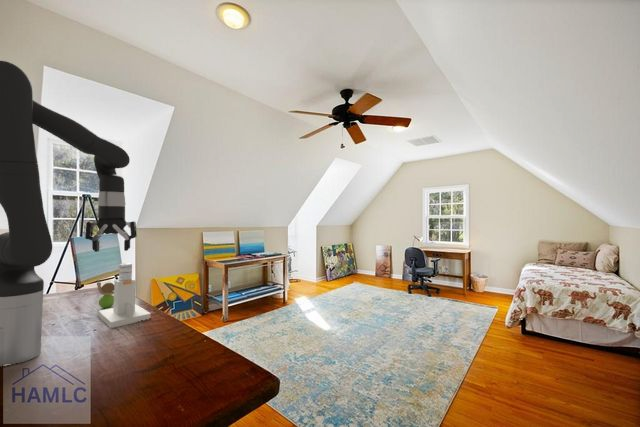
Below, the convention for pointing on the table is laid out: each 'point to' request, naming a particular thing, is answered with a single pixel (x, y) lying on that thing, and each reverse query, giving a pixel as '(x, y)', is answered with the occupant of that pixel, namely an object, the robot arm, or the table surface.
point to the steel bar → (125, 272)
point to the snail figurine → (106, 294)
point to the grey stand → (123, 306)
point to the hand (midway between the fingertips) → (111, 250)
